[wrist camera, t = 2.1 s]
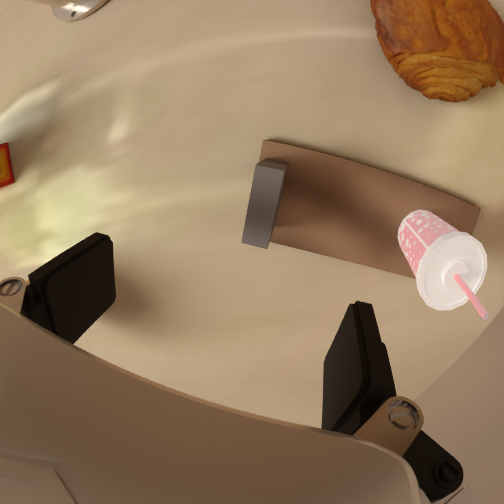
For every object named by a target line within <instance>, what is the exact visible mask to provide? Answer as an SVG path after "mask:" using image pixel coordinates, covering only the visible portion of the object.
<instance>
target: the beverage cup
mask: <svg viewBox="0 0 504 504" xmlns="http://www.w3.org/2000/svg"><path fill="white" fill-rule="evenodd" d="M398 241H399V245H400V247H401V249H402V251H403V253H404V255H405V257H406V259H407V261H408V263H409V265H410V267H411V269H412V271H413V273H414V275H415V277H416V281H417V288H418V291H419V294H420V295H421V297H422V298H423V300H424V301H425V303H426V304H427V305H428V306H430V307H432V308H434V309H436V310H452V309H454V308H456V307H459V306H461V305H463V304H465V303H466V302H467V301H468V300H470V301H471V302H472V304H473V305H474V307H475V308H476V309H477V311H478V312H479V314H480V315H481V317H482V318H483V320H487V319H488V317H489V314H488V312H487V311H486V309H485V308H484V307H483V305H482V304H481V302H480V301H479V300H478V298H477V297H476V296H475V293H476V292H477V291H478V289H479V288H480V286H481V285H482V283H483V280H484V277H485V274H486V271H487V254H486V252H485V250H484V248H483V245H482V243H481V242H479V241H478V240H477V239H475V238H474V237H472V236H471V235H470V234H468V233H467V232H460V231H458V230H457V229H455V228H454V227H453V226H451V225H450V224H448V223H447V222H445V221H444V220H442V219H441V218H439V217H437V216H436V215H434V214H433V213H431V212H430V211H428V210H417V211H414V212H411V213H410V214H409V215H408V216H406V217H405V218H404V219H403V221H402V223H401V225H400V227H399V231H398Z"/></svg>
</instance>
